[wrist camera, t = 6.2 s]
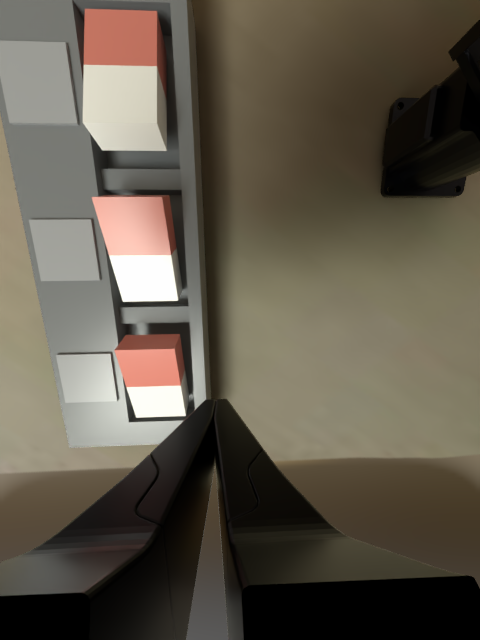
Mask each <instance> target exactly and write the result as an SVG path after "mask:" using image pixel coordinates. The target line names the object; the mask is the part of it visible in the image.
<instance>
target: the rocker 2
mask: <svg viewBox="0 0 480 640" xmlns="http://www.w3.org/2000/svg"><path fill="white" fill-rule="evenodd" d="M92 200H93V204H94V207H95V210H96V214H97V217H98V220H99V224H100V227H101V230H102V234H103V237H104V240H105V244H106V247H107V250H108V254H109V257H110V260H111V264H112V267H113V270H114V274H115V277H116V280H117V284H118V287H119V290H120V294H121V297H122V300H123V302H137V301H178V300H179V298H180V295H181V293H182V291H183V289H182V282H181V275H180V268H179V261H178V254H177V246H176V239H175V232H174V225H173V218H172V211H171V204H170V197H169V195H103V196H95V197H92Z"/></svg>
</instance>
